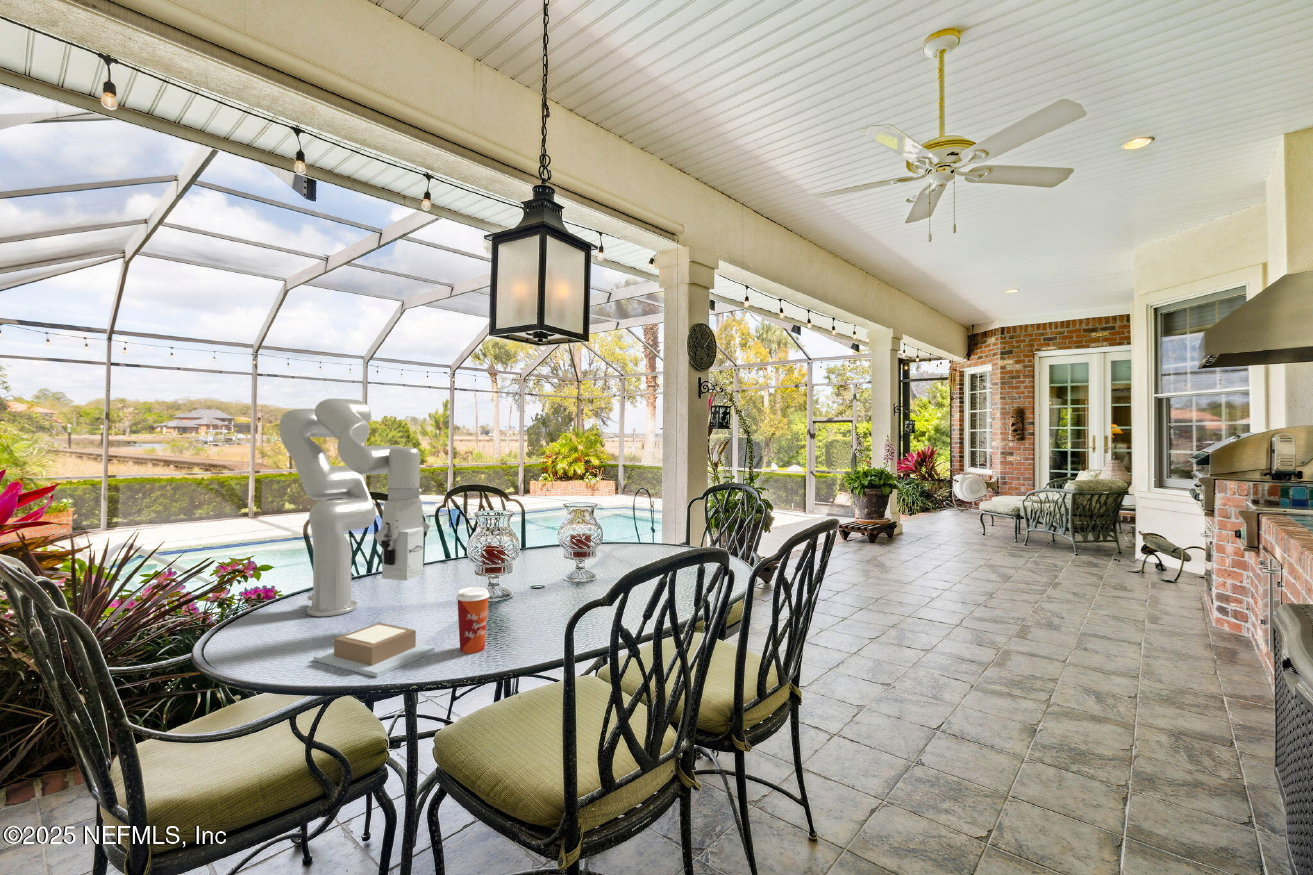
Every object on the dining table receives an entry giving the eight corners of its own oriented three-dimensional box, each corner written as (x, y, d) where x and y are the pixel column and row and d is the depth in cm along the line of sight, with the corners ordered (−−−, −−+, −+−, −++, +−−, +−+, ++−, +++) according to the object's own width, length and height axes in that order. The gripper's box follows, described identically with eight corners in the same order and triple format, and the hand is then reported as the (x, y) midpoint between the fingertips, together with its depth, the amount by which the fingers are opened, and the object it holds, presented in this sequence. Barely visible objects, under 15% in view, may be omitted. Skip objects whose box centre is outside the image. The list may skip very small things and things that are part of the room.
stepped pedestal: (313, 660, 130) (313, 637, 130) (374, 637, 144) (374, 616, 144) (377, 677, 122) (377, 652, 122) (434, 651, 136) (434, 629, 136)
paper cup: (470, 657, 133) (471, 597, 132) (448, 650, 137) (449, 591, 136) (496, 647, 139) (497, 589, 139) (474, 640, 143) (475, 584, 143)
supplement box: (406, 581, 147) (407, 531, 147) (381, 579, 148) (381, 530, 148) (424, 574, 154) (424, 526, 154) (399, 572, 155) (399, 525, 155)
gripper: (419, 490, 160) (418, 553, 160) (364, 497, 144) (364, 566, 145) (439, 492, 157) (439, 556, 157) (386, 499, 141) (385, 570, 142)
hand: (403, 560), depth 151 cm, fingers closed on supplement box, 8 cm apart
